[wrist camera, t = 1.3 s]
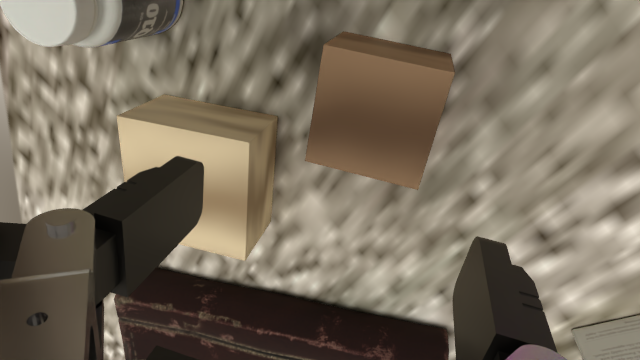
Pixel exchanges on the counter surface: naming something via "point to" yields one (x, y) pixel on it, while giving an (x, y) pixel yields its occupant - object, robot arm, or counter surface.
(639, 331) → the skincare box
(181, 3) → the pill bottle
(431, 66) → the walnut block
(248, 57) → the counter surface
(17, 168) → the counter surface
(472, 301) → the robot arm
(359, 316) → the diary
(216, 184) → the maple block
